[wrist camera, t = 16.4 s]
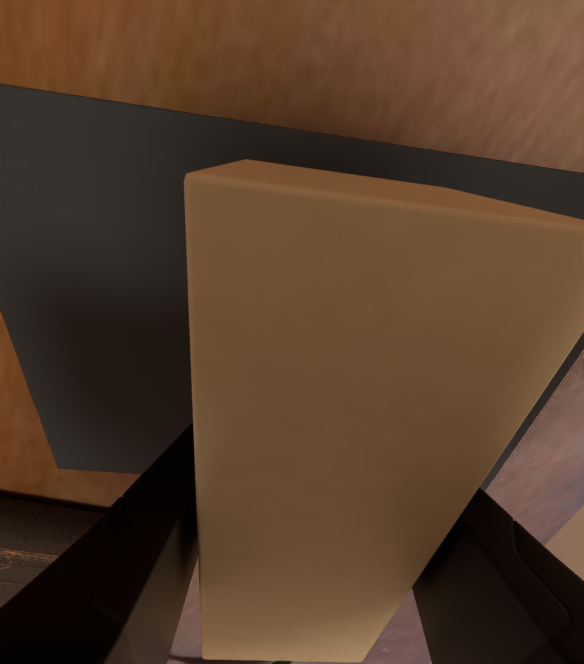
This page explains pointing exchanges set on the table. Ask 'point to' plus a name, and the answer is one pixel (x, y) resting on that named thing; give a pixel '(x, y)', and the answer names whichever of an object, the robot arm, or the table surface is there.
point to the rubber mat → (160, 254)
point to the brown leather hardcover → (35, 539)
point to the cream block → (353, 387)
